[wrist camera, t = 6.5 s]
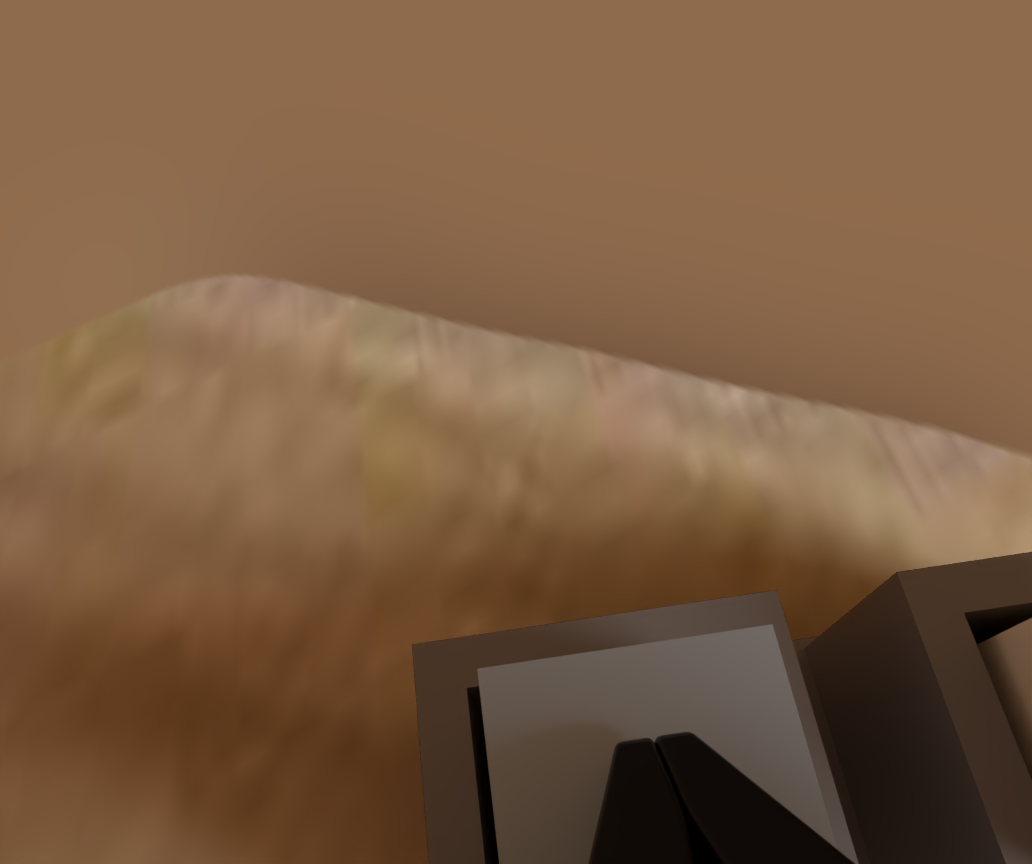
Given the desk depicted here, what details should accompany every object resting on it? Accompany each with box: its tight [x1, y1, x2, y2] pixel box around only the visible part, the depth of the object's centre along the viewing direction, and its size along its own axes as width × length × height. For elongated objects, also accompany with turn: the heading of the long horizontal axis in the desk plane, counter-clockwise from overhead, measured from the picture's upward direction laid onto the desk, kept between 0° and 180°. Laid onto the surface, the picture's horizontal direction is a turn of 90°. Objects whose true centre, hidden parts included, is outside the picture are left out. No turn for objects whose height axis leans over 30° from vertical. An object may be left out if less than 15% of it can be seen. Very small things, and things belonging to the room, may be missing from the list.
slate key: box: [477, 624, 837, 864], centre depth 12 cm, size 4×4×7 cm
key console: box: [412, 552, 1032, 864], centre depth 15 cm, size 6×15×6 cm, turn 98°
